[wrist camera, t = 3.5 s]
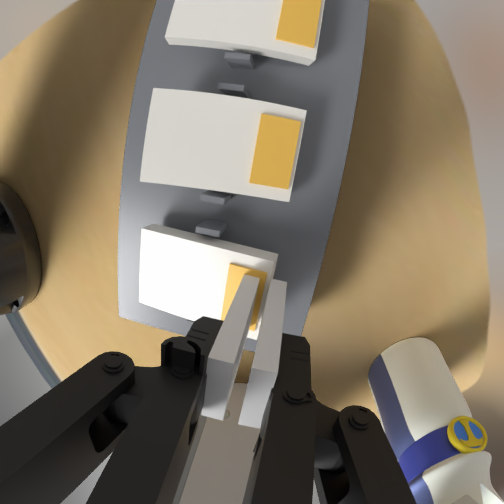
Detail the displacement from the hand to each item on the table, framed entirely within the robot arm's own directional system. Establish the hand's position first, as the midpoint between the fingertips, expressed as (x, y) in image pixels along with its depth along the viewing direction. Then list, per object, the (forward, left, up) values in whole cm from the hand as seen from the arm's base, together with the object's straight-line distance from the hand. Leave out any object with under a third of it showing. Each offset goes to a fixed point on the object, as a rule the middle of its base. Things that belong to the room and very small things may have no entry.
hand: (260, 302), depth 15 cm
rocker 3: (-3, 0, -1) cm, 3 cm away
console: (-3, +7, -9) cm, 11 cm away
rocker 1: (-3, +14, -1) cm, 14 cm away
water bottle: (+15, -9, -9) cm, 19 cm away
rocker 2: (-3, +7, -1) cm, 8 cm away
